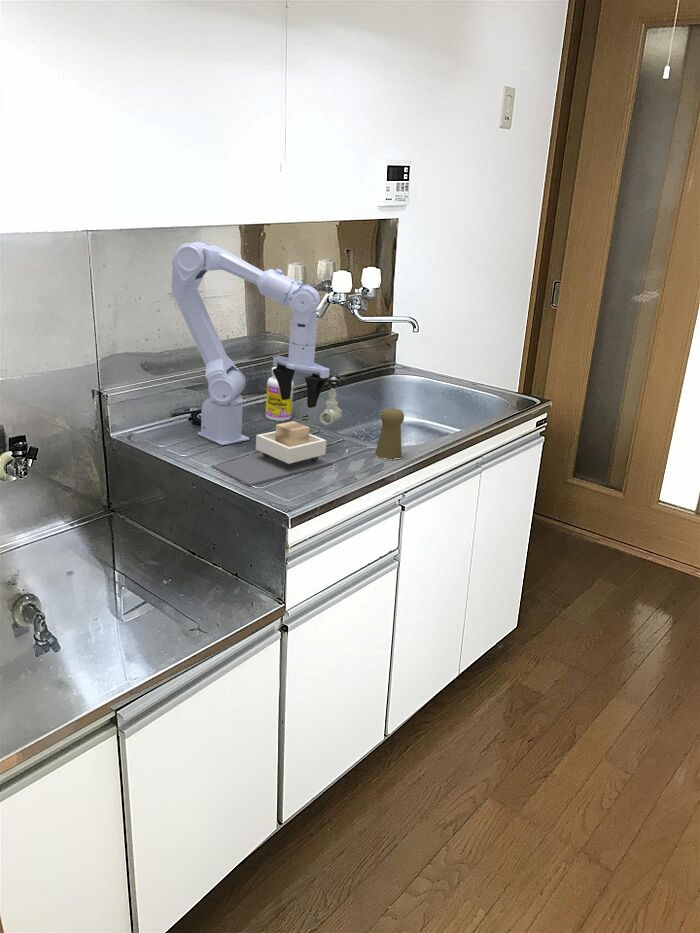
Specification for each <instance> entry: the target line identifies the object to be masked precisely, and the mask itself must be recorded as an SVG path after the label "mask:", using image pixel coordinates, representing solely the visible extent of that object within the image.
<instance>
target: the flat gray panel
mask: <svg viewBox="0 0 700 933" xmlns="http://www.w3.org/2000/svg"><path fill="white" fill-rule="evenodd" d="M331 465H333V461H331V460H328V459H326V458H324V457H322V456H318V460H317V461H315V462H314V461H312V460H311V459H310V458H309V459H305V460H302V461H298V462H294V466H293V467H292V468H289V467H287V466H286V462H284V461H281V460H279V459H277V458H274V457H272V456H269V457H265V456H263V454H260V455H254V456H250V457H245V458H242V459H237V460H233V461H229V462H226V463H220V464H216V465H213V466H212V469H213V468H214V469H213V470H215V469H216V470H215V471H217V470H218V471H217V472H219V471H220V473H221V472H222V473H221V474H223V473H224V475H225V474H226V475H225V476H227V475H229V476H231V477H233V478H235V479H237V480H239V481H238V482H240V481H242V482H244V483H246V484H247V485H246V484H245V485H246V486H248V485H249V486H248V487H252V486H251V485H253V486H256V485H257V486H258V485H261V484H264V483H268V482H271V481H276V480H280V479H282V478H286V477H290V476H294V475H297V474H301V473H306V472H309V471H312V470H316V469H320V468H324V467H328V466H331ZM229 476H228V477H229ZM231 477H230V478H231ZM233 478H232V479H233ZM235 479H234V480H235ZM237 480H236V481H237ZM242 482H241V483H242ZM244 483H243V484H244Z"/></svg>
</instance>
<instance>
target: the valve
mask: <svg viewBox="0 0 700 933" xmlns="http://www.w3.org/2000/svg"><path fill="white" fill-rule="evenodd" d="M326 383H327V384H328V385H329V386H328V388H329V389H330V390H329V391H328V397H329V398H328V400H326V401H325V406H326V408H325V409H324V410H323V412H321V413H320V414H319V422H320V423H321V424H322V425H324V426H325V427H326V426H330V425H333V424H335V423H337V422H338V421H339V419H341V418H342V413H343V412H342V411H343V410H342V409H341V408H340V407H339V404H338V403H339V402H338V401H337V399H336V397H337V391H336V389H337V388H338V387H341V386H342V385H343V384H347V376H341V375H340V374H335V375H332V374H331V373H329V377H328V381H327V382H326Z"/></svg>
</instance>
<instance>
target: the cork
mask: <svg viewBox="0 0 700 933" xmlns="http://www.w3.org/2000/svg"><path fill="white" fill-rule="evenodd" d="M380 420H381V421H380V422H382V424H381V429H380V433H379V437H378V441H377V446H376V449H375V453H376V455H377V456H378V457H381V458H387V459H395V458H400V457H401V458H402V430H401V429H402V426H401V425H402V424H403V423H404V420H405V414H404V412H403V411H402V410H401V409H398V408H391V407H388V408H385V409H383V410H382V412H381V414H380ZM378 457H377V458H378Z"/></svg>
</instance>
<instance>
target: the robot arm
mask: <svg viewBox="0 0 700 933" xmlns="http://www.w3.org/2000/svg"><path fill="white" fill-rule="evenodd" d="M170 262H171V266H172V269H171V270H172V271H171V272H172V273H171V284H170V286H171V293H172V296H173V297H174V299H175V301H176V303H177V306H178V308H179V310H180V312H181V315H182V317H183V318H184V321H185V324H186V325H187V328H188V330H189V332H190V334H191V336H192V339H193V341H194V343H195V345H196V347H197V350H198V352H199V354H200V356H201V358H202V361H203V363H204V365H205V378H206V381H207V383H208V384H207V385H208V389H207V390H208V394H209V397H208V398H206V399H205V400H204V401H203V403H202V405H201V413H200V414H201V418H200V419H201V421H200V425H201V426H200V431H198V432H197V435H198V436H200V437H203V438H205V439H207V440H209V441H212V442H214V443H216V444H217V445H220V446H225V445H226V446H227V445H231V444H235V443H236V444H237V443H240V442H244V441H245V442H246V441H249V440H250V437H249V436H247V435H244V434H242V429H243V426H242V425H243V406H244V405H243V404H244V399H243V398H242V395H241V393H242V392H243V391H244V390H245V388H246V378H245V375H244V374H243V372H242V371H240V370H239V368H237V366H236V365H235V363H234V361H233V360H232V359H231V358H230V357H229V356H228V355H227V352H226V350H225V348H224V345H223V343H222V341H221V340H220V337H219V335H218V332H217V330H216V328H215V326H214V323H213V322H212V319H211V316H210V315H209V313H208V310H207V308H206V306H205V303H204V300H203V299H202V297H201V294H200V292H199V290H198V289H199V287H200V284H201V282H202V281H203V277H204V276H205V275H206V273H207V272H209V271H219V270H221V271H225V272H226V273H229V274H232V275H234V276H236V277H237V278H239V279H243V280H245V281H247V282H248V283H251V284H254V285H255V286H256V287H257V289H258V291H259V293H260V294H261V295H262V296H264V297H267V298H268V299H270V300H273V301H274V302H277V303H279V304H280V305H282V306H284V307H289V310H290V311H291V319H290V325H289V340H288V342H289V343H288V355H287V356H288V357H285V356H282V355H277V356H273V363H272V366H274V367H276V368H275V369H273V373H274V375H275V377H276V379H277V382H278V385H279V388H280V393H281V398H282V400H287V399H290V395H291V385H292V380H293V379H294V376H295V371H297V372H302V373H305V374H309V376H305V377H304V379H305V380H304V381H305V383H306V384H305V385H306V388H307V391H306V392H307V398H306V399H307V400H306V403H307V408H309V409H311V408H315V407H317V403H318V399H319V397H320V394H321V393H322V390H323V388H324V386H325V384H326V383H327V381H328V377H329V374H330V369H331V368H330V367H329V368H328V367H325V366H323V365H320V364H318V363H316V362H315V357H316V356H315V355H316V354H315V353H316V341H317V339H316V338H317V324H318V322H317V319H318V311H317V308H318V307H319V306H320V302H321V297H320V293H319V292H318V290H317V289H316V288H314V286H312V285H311V284H303V281H301V280H300V279H299V280H297V281H296V280H294V279H293V278H291V277H288V276H286V274H283V272H284V271H283V270H282V269H280V268H277V269H273V268H270V269H266V270H265V271H263V270H261V269H260V268H258V267H256V266H254V265H253V264H251V263H248V262H247V261H245V260H244V259H241V258H240V257H238V256H237V255H234V254H233V253H230V252H229V251H228V250H225V249H223V248H222V247H219V246H217V245H214V244H210V243H209V242H207V241H204V240H195V241H194V242H185V243H182V244H181V245H180V246H178V248H176V250H175V252H174V254H173V256H172V258H171V261H170Z"/></svg>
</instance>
